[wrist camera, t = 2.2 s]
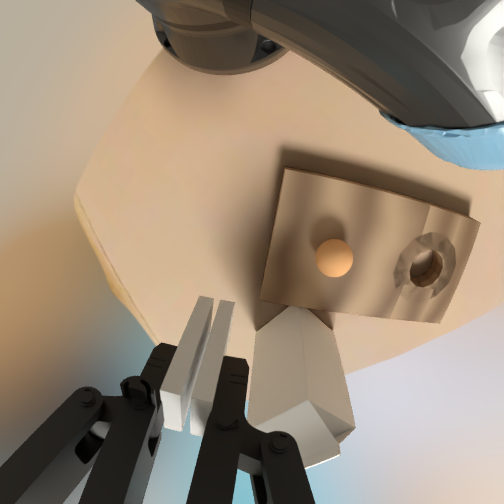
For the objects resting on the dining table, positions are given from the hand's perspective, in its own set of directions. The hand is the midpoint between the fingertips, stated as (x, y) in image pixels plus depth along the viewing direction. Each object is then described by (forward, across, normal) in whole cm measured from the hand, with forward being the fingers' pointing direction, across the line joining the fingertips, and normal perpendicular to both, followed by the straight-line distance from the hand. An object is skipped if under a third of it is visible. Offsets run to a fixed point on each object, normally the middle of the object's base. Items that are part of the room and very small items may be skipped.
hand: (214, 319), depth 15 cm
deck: (+16, +15, 0) cm, 22 cm away
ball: (+12, +9, 0) cm, 15 cm away
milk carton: (+17, +8, -12) cm, 22 cm away
